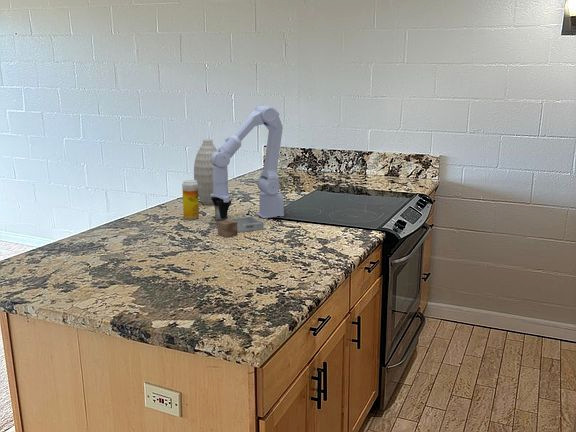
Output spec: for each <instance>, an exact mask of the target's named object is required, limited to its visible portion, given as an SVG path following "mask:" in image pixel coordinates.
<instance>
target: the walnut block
mask: <svg viewBox="0 0 576 432" xmlns="http://www.w3.org/2000/svg"><path fill="white" fill-rule="evenodd" d="M229 219H230V218H228V220H223V221H219V222H217V235H218V236H220V237H223V238H226V239H228V238H231V237H235V236H238V233H239V232H238V231H237V222H236V221H233V220H229Z"/></svg>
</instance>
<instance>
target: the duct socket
mask: <svg viewBox="0 0 576 432" xmlns="http://www.w3.org/2000/svg"><path fill="white" fill-rule="evenodd" d="M228 219H229V220H233V221H236V222H237V231H238V233H245V232H253V231H261V230H264V221H261V219H258V218H257V217H255V216H253V215H251V216H241V217H234V218H233V217H231V218H228ZM228 219H226V220H228Z"/></svg>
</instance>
